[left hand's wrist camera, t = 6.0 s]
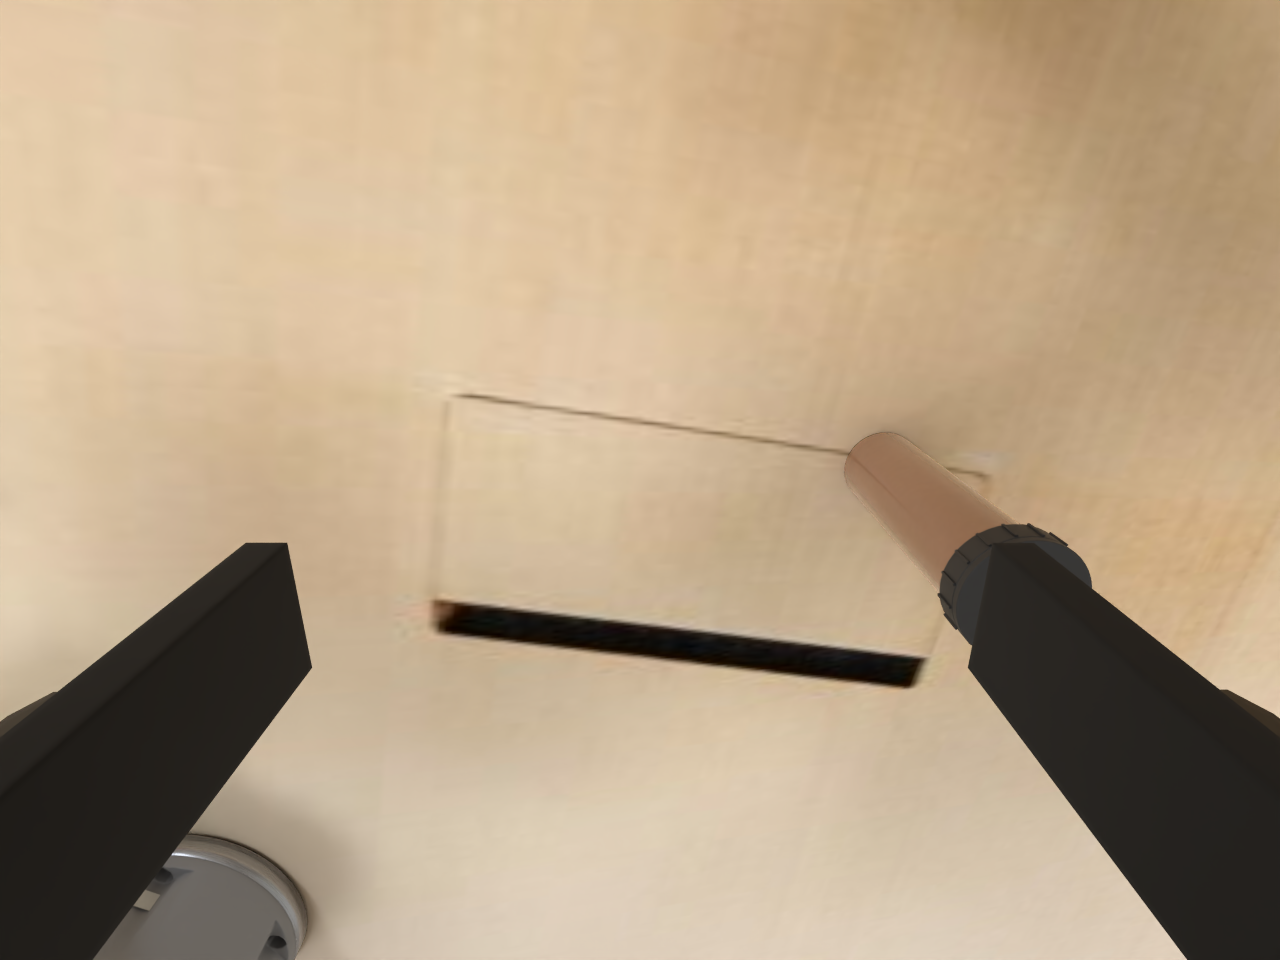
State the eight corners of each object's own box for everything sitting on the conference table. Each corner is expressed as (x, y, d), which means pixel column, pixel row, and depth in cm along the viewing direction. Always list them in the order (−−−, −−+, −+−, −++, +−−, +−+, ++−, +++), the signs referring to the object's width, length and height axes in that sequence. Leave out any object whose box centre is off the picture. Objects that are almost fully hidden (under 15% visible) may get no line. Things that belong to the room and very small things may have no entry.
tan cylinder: (922, 432, 39) (1086, 543, 25) (912, 501, 41) (1062, 644, 26) (848, 432, 39) (970, 544, 25) (840, 501, 41) (952, 645, 26)
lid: (1080, 522, 26) (1107, 539, 24) (1053, 636, 28) (1077, 659, 26) (948, 522, 26) (967, 540, 24) (929, 637, 28) (945, 660, 26)
